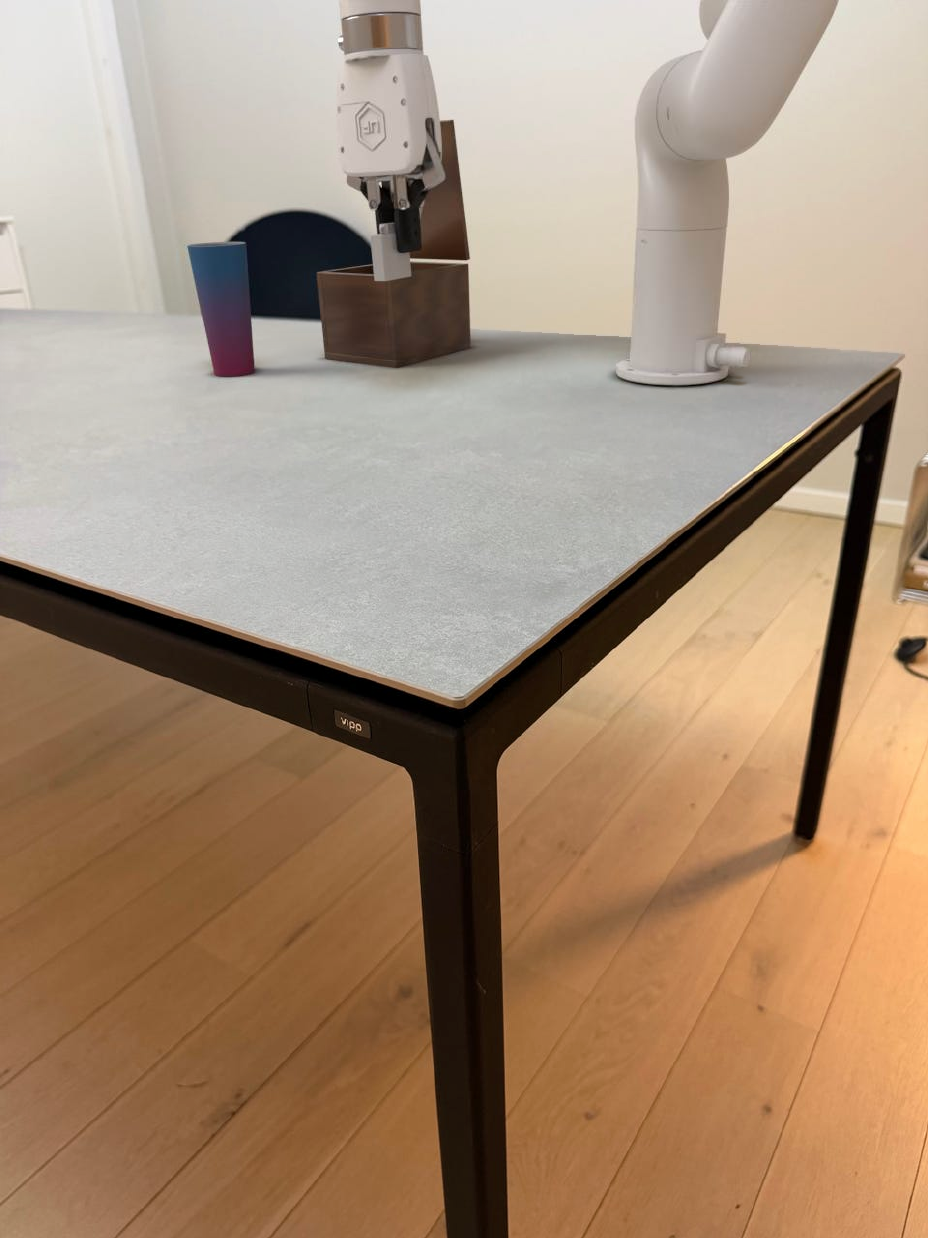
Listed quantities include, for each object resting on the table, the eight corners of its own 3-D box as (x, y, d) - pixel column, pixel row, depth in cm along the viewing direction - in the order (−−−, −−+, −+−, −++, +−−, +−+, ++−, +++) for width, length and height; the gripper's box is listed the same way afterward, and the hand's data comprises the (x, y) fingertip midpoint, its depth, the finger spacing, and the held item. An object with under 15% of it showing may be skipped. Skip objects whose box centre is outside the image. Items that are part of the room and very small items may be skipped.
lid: (449, 120, 112) (473, 113, 115) (373, 125, 119) (397, 119, 122) (466, 260, 121) (488, 250, 124) (394, 257, 128) (416, 248, 131)
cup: (196, 377, 113) (176, 246, 107) (222, 366, 119) (204, 241, 113) (247, 378, 112) (229, 245, 105) (271, 367, 118) (255, 241, 111)
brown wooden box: (396, 367, 115) (390, 275, 110) (324, 358, 122) (316, 272, 117) (470, 347, 126) (468, 263, 121) (401, 340, 133) (396, 260, 128)
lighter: (386, 280, 93) (378, 194, 89) (373, 280, 94) (365, 194, 90) (430, 272, 98) (424, 189, 94) (417, 272, 99) (411, 190, 95)
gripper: (296, 50, 88) (320, 255, 97) (422, 28, 80) (437, 256, 88) (349, 53, 94) (368, 247, 102) (473, 33, 85) (483, 247, 93)
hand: (400, 250), depth 95 cm, fingers closed on lighter, 1 cm apart
